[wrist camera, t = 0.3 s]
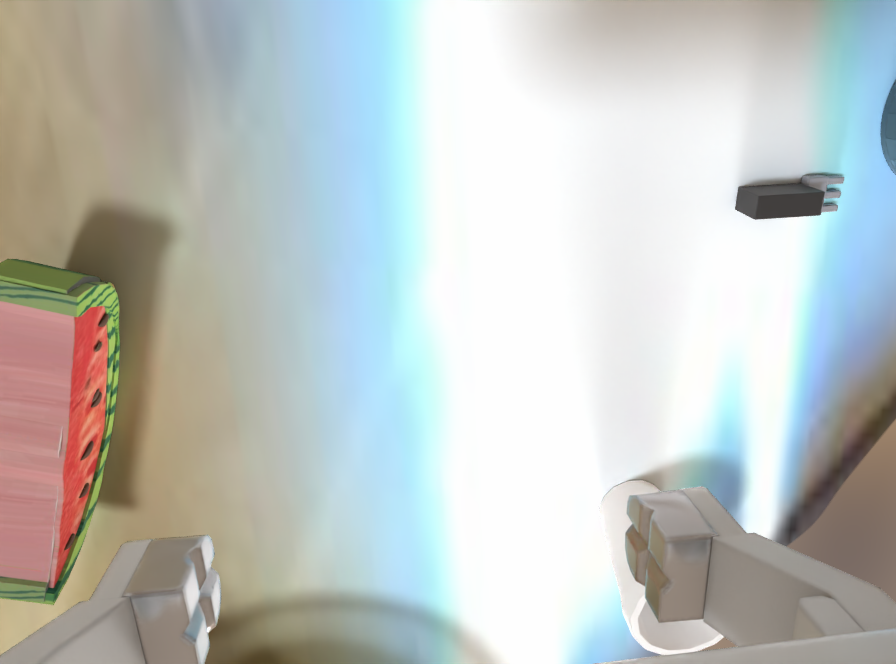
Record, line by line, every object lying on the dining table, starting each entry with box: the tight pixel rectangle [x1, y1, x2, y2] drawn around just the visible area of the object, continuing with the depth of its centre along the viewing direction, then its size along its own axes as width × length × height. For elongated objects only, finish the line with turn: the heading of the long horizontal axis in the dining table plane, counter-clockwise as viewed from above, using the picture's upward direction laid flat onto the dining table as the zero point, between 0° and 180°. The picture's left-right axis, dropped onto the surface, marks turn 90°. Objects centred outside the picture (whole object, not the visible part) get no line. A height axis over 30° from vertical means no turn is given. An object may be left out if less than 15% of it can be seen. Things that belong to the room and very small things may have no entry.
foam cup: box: [599, 480, 724, 655], centre depth 58 cm, size 10×9×13 cm
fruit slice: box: [0, 259, 120, 605], centre depth 48 cm, size 26×6×10 cm, turn 163°
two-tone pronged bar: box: [735, 175, 844, 219], centre depth 50 cm, size 8×3×3 cm, turn 92°
